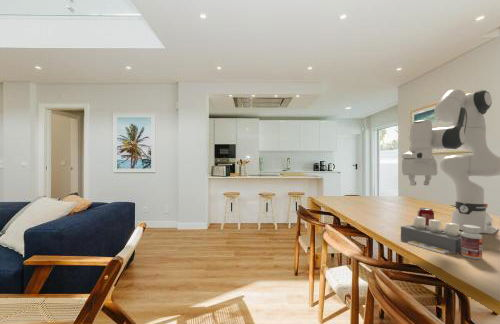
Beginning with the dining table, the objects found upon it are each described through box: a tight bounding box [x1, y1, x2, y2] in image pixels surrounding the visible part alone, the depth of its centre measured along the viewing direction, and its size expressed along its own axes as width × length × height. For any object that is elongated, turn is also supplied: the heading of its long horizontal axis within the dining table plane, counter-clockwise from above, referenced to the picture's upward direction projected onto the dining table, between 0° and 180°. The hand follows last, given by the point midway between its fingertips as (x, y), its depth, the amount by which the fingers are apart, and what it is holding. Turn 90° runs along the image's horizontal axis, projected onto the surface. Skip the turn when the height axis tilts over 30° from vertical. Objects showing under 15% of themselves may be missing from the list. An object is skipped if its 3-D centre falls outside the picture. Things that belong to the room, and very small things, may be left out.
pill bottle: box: [460, 225, 483, 260], centre depth 99 cm, size 6×6×11 cm
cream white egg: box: [429, 219, 442, 233], centre depth 114 cm, size 4×4×6 cm
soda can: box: [417, 207, 435, 226], centre depth 131 cm, size 7×7×12 cm
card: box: [407, 241, 450, 255], centre depth 108 cm, size 4×14×1 cm, turn 26°
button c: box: [444, 222, 460, 237], centre depth 108 cm, size 4×4×6 cm
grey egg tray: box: [400, 223, 462, 255], centre depth 114 cm, size 13×22×6 cm, turn 26°
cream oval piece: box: [413, 216, 426, 229], centre depth 120 cm, size 4×4×6 cm
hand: (419, 185), depth 120 cm, fingers open, 8 cm apart
